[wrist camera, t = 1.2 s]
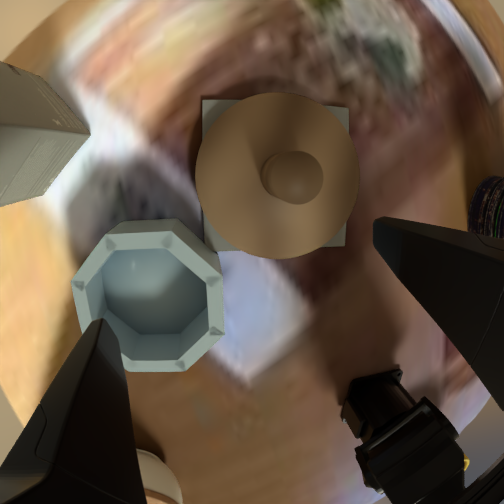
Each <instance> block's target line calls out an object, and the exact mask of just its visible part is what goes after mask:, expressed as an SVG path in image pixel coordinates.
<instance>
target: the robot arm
mask: <svg viewBox="0 0 504 504" xmlns="http://www.w3.org/2000/svg"><path fill="white" fill-rule="evenodd" d="M373 244H374V247H375V249H376V250H377V251H378V252H379V254H380V255H381V256H382V258H383V259H384V260H385V262H386V263H387V264H388V266H389V267H390V268H391V270H392V271H393V273H394V274H395V275H396V277H397V278H398V279H399V280H400V281H401V283H402V284H403V285H404V286H405V287H406V288H407V289H408V291H409V292H410V293H411V294H412V295H413V296H414V297H415V299H416V300H417V301H418V302H419V303H420V304H421V305H422V307H423V308H424V309H425V310H426V311H427V313H428V314H429V315H430V316H431V317H432V318H433V320H434V321H435V322H436V323H437V324H438V326H439V327H440V328H441V329H442V331H443V332H444V333H445V334H446V336H447V337H448V338H449V339H450V341H451V342H452V343H453V344H454V346H455V347H456V348H457V349H458V351H459V352H460V353H461V355H462V356H463V357H464V358H465V360H466V361H467V362H468V364H469V365H471V368H472V369H473V371H474V372H475V373H476V375H477V376H478V377H479V379H480V380H481V381H482V383H483V384H484V386H485V387H486V388H487V390H488V391H489V393H490V394H491V396H492V397H493V398H494V400H495V401H496V403H497V404H498V406H499V407H500V408H501V409H502V411H504V239H500V238H495V237H490V236H485V235H480V234H474V233H471V232H466V231H461V230H456V229H451V228H446V227H441V226H436V225H431V224H425V223H420V222H414V221H409V220H403V219H397V218H391V217H385V216H384V217H381V218H378V219H375V220H374V222H373ZM402 374H403V372H402V370H401V369H396V370H392V371H389V372H385V373H380V374H376V375H372V376H368V377H363V378H359V379H355V380H353V381H352V382H351V383H350V387H349V392H348V396H347V398H346V401H345V405H344V409H343V413H342V415H343V416H342V422H343V423H347V424H348V425H349V427H350V429H351V431H352V433H353V434H354V436H355V438H357V439H358V438H360V439H361V440H362V442H363V444H362V445H360V446H358V447H356V448H355V452H356V460H357V461H358V463H359V465H360V468H361V470H362V475H363V480H364V484H365V486H366V487H369V488H373V489H374V490H375V491H376V492H377V493H379V494H383V493H385V494H386V496H387V497H388V498H389V500H390V501H391V503H392V504H499V503H500V502H501V501H502V500H503V499H504V453H503V454H502V455H501V456H500V457H499V458H498V459H497V460H496V461H495V462H494V463H493V464H492V465H491V466H490V467H489V468H488V469H487V470H486V471H485V472H484V473H483V474H482V475H481V476H480V477H479V478H477V479H476V480H475V481H474V482H473V483H472V484H471V485H470V486H469V487H467V488H465V486H464V466H465V463H464V453H463V451H462V449H461V448H460V447H459V446H458V444H457V443H456V441H455V440H456V439H457V438H458V437H459V434H458V432H457V431H456V429H455V428H454V426H453V425H452V424H451V422H450V421H449V420H448V419H447V418H446V416H445V415H444V414H443V413H442V412H441V411H440V410H439V409H438V408H437V407H436V406H434V405H433V404H432V403H431V402H430V401H429V400H428V399H427V398H426V397H425V396H424V397H422V398H421V399H420V401H419V402H418V403H416V401H415V400H414V399H413V398H412V397H411V396H410V394H409V393H408V392H407V391H406V390H405V389H404V387H403V386H402V385H401V384H400V380H401V377H402ZM354 384H355V385H354ZM0 504H148V503H147V499H146V495H145V491H144V486H143V482H142V477H141V472H140V467H139V462H138V456H137V451H136V445H135V439H134V432H133V425H132V418H131V411H130V403H129V394H128V386H127V380H126V376H125V371H124V366H123V361H122V356H121V350H120V345H119V341H118V338H117V336H116V335H115V333H114V331H113V330H112V328H111V327H110V325H109V324H108V322H107V321H106V319H104V318H99V319H96V320H93V321H91V323H90V324H89V326H88V327H87V329H86V330H85V331H84V333H83V334H82V336H81V337H80V339H79V340H78V342H77V343H76V345H75V346H74V348H73V349H72V351H71V353H70V354H69V356H68V357H67V359H66V360H65V362H64V363H63V365H62V367H61V368H60V370H59V371H58V373H57V374H56V376H55V378H54V379H53V381H52V383H51V384H50V386H49V388H48V389H47V391H46V393H45V394H44V396H43V398H42V399H41V401H40V404H38V406H37V408H36V410H35V411H34V413H33V415H32V417H31V418H30V420H29V422H28V423H27V425H26V427H25V428H24V430H23V431H22V433H21V435H20V436H19V438H18V439H17V441H16V442H15V444H14V446H13V447H12V449H11V451H10V452H9V454H8V455H7V457H6V459H5V460H4V462H3V463H2V465H1V467H0Z"/></svg>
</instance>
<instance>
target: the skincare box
mask: <svg viewBox="0 0 504 504" xmlns="http://www.w3.org/2000/svg"><path fill="white" fill-rule="evenodd" d="M90 136H91V133H90V132H89V131H88V130H87V129H86V128H85V126H84V125H83V124H82V123H81V121H80V120H79V119H78V118H77V117H76V115H75V114H74V113H73V112H72V111H71V110H70V108H69V107H68V106H67V105H66V104H65V103H64V101H63V100H62V99H61V98H60V97H59V96H58V95H57V94H56V93H55V92H54V90H53V89H52V88H51V87H50V86H49V85H48V84H47V83H46V82H45V81H44V80H43V79H42V78H41V77H39V76H37V75H35V74H32V73H30V72H27V71H25V70H22V69H19V68H17V67H14V66H12V65H9V64H6V63H4V62H1V61H0V207H2V206H6V205H9V204H13V203H16V202H20V201H23V200H27V199H31V198H34V197H38V196H42V195H44V193H45V192H46V191H47V189H48V188H49V186H50V185H51V184H52V182H53V181H54V180H55V178H56V177H57V176H58V174H59V173H60V172H61V170H62V169H63V168H64V167H65V165H66V164H67V163H68V162H69V160H70V159H71V158H72V157H73V156H74V154H75V153H76V152H77V151H78V150H79V148H80V147H81V146H82V145H83V144H84V142H85V141H86V140H87V139H88V138H89V137H90Z"/></svg>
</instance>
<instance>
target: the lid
mask: <svg viewBox="0 0 504 504" xmlns="http://www.w3.org/2000/svg"><path fill="white" fill-rule="evenodd" d="M195 180H196V190H197V194H198V198H199V202H200V204H201V207H202V210H203V212H204V214H205V215H206V217H207V219H208V221H209V222H210V224H211V225H212V226H213V228H214V229H215V230H216V231H217V232H218V233H219V234H220V235H221V237H222V238H224V239H225V240H226V241H227V242H229V243H230V244H231V245H233V246H234V247H236V248H238V249H239V250H241V251H244V252H246V253H248V254H251V255H254V256H258V257H262V258H269V259H286V258H293V257H297V256H302V255H304V254H307V253H309V252H312V251H314V250H316V249H317V248H319V247H321V246H322V245H324V244H325V243H327V242H328V241H329V240H330V239H332V238H333V237H334V236H335V235H336V234H337V233H338V232H339V230H340V229H341V228H342V227H343V226H344V224H345V222H346V221H347V219H348V218H349V216H350V214H351V212H352V210H353V208H354V205H355V202H356V199H357V195H358V190H359V181H360V169H359V162H358V156H357V153H356V149H355V146H354V144H353V142H352V139H351V137H350V135H349V134H348V132H347V130H346V129H345V127H344V126H343V125H342V123H341V122H340V121H339V120H338V119H337V118H336V117H335V116H334V115H333V114H332V113H331V112H330V111H329V110H327V109H326V108H325V107H324V106H322V105H320V104H319V103H317V102H315V101H313V100H311V99H309V98H306V97H304V96H300V95H297V94H292V93H285V92H270V93H262V94H258V95H254V96H251V97H248V98H246V99H244V100H241V101H239V102H238V103H236V104H234V105H233V106H231V107H230V108H228V109H227V110H226V111H225V112H224V113H222V114H221V115H220V116H219V117H218V118H217V120H216V121H215V122H214V123H213V124H212V126H211V127H210V129H209V130H208V131H207V133H206V135H205V137H204V139H203V141H202V143H201V146H200V149H199V152H198V156H197V161H196V171H195Z"/></svg>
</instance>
